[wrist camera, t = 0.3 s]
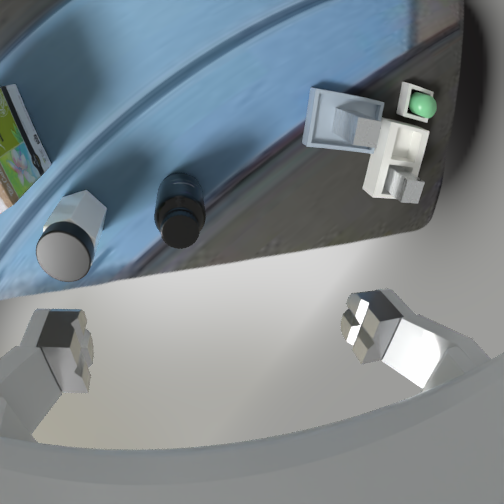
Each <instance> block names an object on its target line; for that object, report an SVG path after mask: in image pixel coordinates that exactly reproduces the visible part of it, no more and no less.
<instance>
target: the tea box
mask: <svg viewBox="0 0 504 504" xmlns="http://www.w3.org/2000/svg"><path fill="white" fill-rule="evenodd" d="M50 166H51V162H50V160H49V158H48V156H47V154H46V152H45V149H44V148H43V146H42V144H41V141H40V139H39V137H38V135H37V133H36V130H35V129H34V126H33V124H32V122H31V119H30V117H29V114H28V112H27V110H26V108H25V106H24V103H23V100H22V98H21V95H20V93H19V91H18V88H17V86H16V84H12V85H7V86H2V87H0V214H1V213H2V212H4V211H5V210H6V209H8V208H9V207H11V206H12V205H14V204H15V203H16V202H17V201H18V200H19V199H20V198H21V196H22V195H23V194H24V193H25V192H26V191H27V190H28V189H29V188H30V187H31V186H32V185H33V184H34V183H35V182H36V181H37V180H38V179H39V178H40V177H41V176H42V175H43V174H44V173H45V172H46V170H47V169H48V168H49V167H50Z"/></svg>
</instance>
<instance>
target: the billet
mask: <svg viewBox="0 0 504 504" xmlns="http://www.w3.org/2000/svg"><path fill="white" fill-rule="evenodd" d="M381 125H382V122H381V121H379V120H377V119H374V118H372V117H370V116H367V115H365V114H363V113H360V112H358V111H352V110H347V109H341V108H335V113H334V119H333V124H332V130H331V132H332V133H334V134H336V135H337V136H339V137H341V138H342V139H344V140H346V141H347V142H349V143H351V144H352V145H358V146H365V147H372V148H376V147H377V143H378V139H379V134H380V129H381Z"/></svg>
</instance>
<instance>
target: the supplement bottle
mask: <svg viewBox="0 0 504 504" xmlns="http://www.w3.org/2000/svg"><path fill="white" fill-rule="evenodd" d="M205 219H206V214H205V207H204V200H203V193H202V189H201V186H200V184H199V182H198V181H197V180H196V179H195V178H194V177H193V176H191V175H189V174H185V173H175V174H172V175H170V176H168V177H167V178H165V179H164V180H163V181H162V183H161V184H160V186H159V189H158V194H157V200H156V207H155V214H154V220H155V224H156V227H157V229H158V230H159V231H160V232H161V235H162V238H163V241H165V243H166V244H168V245H169V246H171V247H174V248H178V249H179V248H181V249H182V248H186V247H189V246H190V245H192V244H193V243H195V241H196V240H197V238H198V237H199V232H200V231H201V229H202V228H203V226H204V223H205Z"/></svg>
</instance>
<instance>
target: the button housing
mask: <svg viewBox="0 0 504 504" xmlns="http://www.w3.org/2000/svg"><path fill="white" fill-rule="evenodd" d="M412 89H415V90H418V91H420V92H423V94H426V95H429V96H432V97H433V93H434V92H432V91H430V90H427V89H424V88H421V87H419V86H416V85H413V84H410V83H406V82H402V86H401V92H400V97H399V102H398V107H397V112H396V114H399V115H401V116H404V117H408V118H411V119H415V120H419V121H422V122H426V123H427V122H428V118H425V117H422V116H420V115H419V116H418V115H414V114H411V113H407V110H408V105H409V100H410V95H411V90H412Z"/></svg>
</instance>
